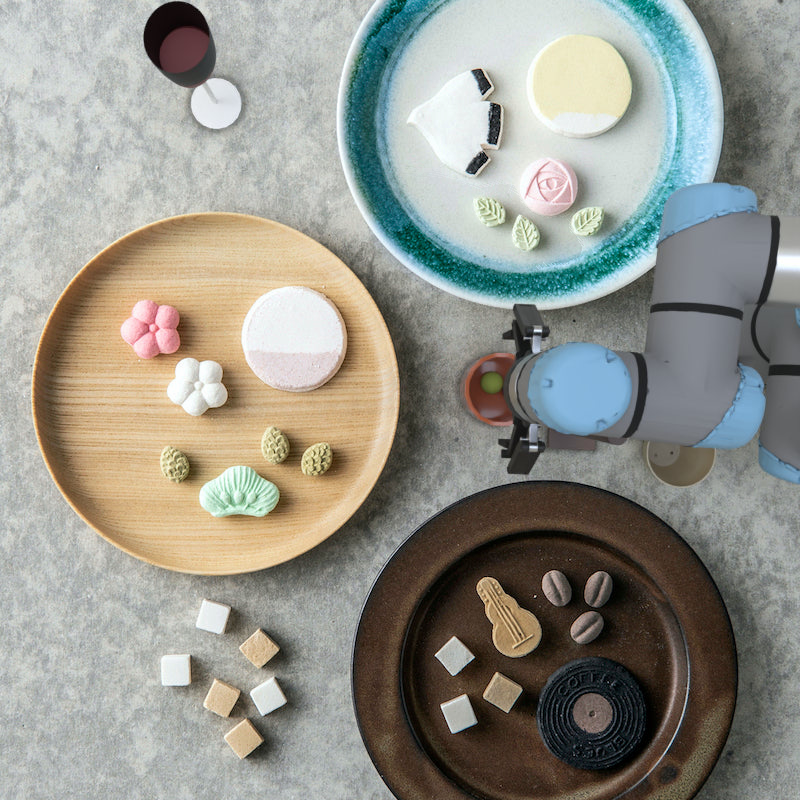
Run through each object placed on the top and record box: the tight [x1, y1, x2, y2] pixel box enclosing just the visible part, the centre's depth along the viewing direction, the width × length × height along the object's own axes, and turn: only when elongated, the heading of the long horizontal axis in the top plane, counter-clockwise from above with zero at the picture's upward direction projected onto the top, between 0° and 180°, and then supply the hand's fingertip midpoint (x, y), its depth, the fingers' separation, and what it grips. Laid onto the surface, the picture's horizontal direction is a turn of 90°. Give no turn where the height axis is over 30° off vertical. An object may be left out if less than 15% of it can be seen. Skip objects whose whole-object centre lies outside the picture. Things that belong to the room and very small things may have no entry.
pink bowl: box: [458, 352, 515, 427], centre depth 104 cm, size 10×10×8 cm
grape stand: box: [546, 427, 629, 451], centre depth 97 cm, size 7×7×22 cm
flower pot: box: [642, 440, 717, 489], centre depth 105 cm, size 10×10×7 cm
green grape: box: [480, 371, 503, 394], centre depth 105 cm, size 3×3×3 cm
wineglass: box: [142, 0, 243, 130], centre depth 96 cm, size 8×9×20 cm
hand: (510, 389), depth 93 cm, fingers open, 13 cm apart
